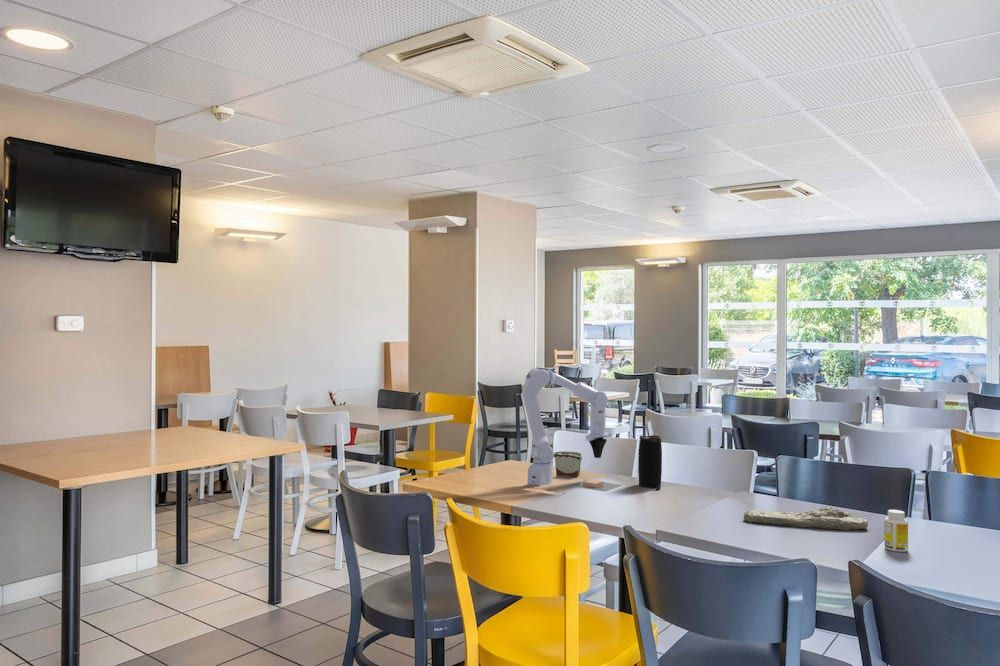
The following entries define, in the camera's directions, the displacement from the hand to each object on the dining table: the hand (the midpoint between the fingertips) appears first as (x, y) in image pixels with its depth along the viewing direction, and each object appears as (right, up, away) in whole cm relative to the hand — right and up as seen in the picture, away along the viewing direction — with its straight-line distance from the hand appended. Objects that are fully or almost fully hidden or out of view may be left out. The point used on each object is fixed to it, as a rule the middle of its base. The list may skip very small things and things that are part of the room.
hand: (597, 457), depth 274 cm
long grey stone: (+55, -11, -58) cm, 80 cm away
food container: (-9, -10, +11) cm, 18 cm away
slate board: (-2, -10, -9) cm, 14 cm away
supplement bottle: (+69, -10, -83) cm, 108 cm away
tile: (-1, -8, -8) cm, 11 cm away
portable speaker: (+18, -10, -9) cm, 23 cm away
